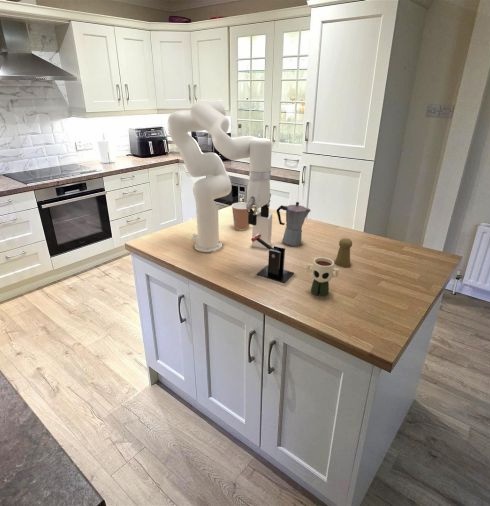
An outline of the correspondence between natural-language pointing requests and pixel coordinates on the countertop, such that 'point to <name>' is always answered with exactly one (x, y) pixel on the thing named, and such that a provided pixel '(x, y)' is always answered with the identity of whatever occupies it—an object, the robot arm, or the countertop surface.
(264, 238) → the milk carton
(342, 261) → the olive pepper mill
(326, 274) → the character mug
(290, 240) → the moka pot
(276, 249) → the switch lever
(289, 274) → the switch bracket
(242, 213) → the coffee cup
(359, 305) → the countertop surface
